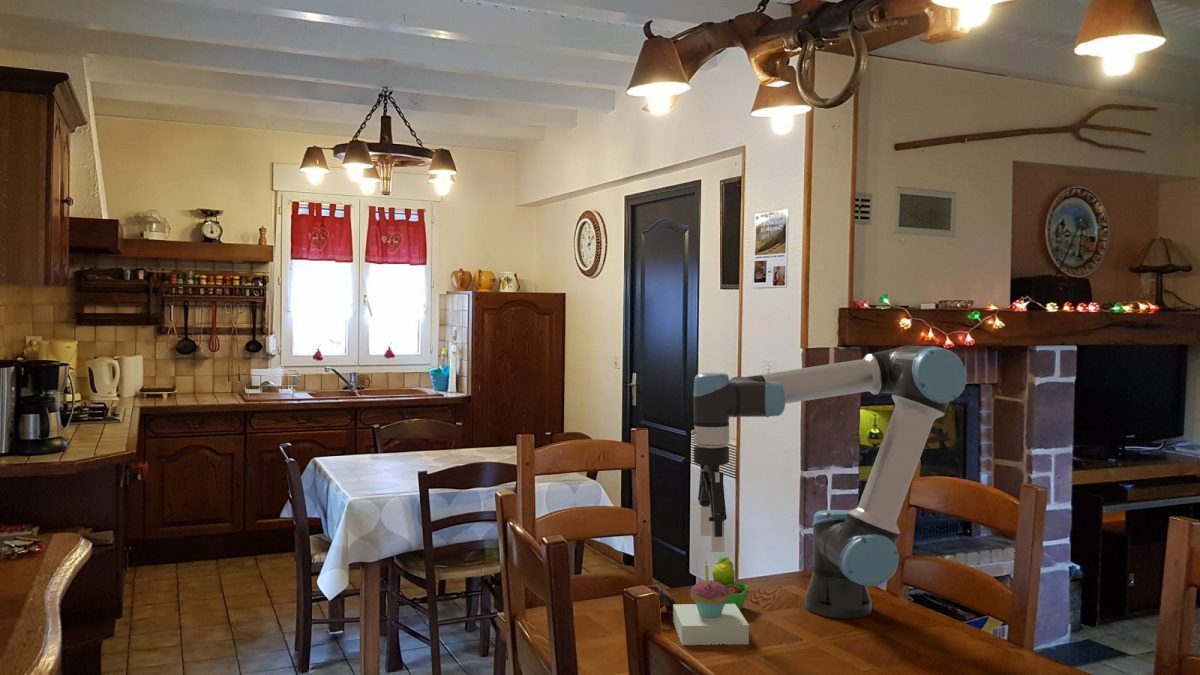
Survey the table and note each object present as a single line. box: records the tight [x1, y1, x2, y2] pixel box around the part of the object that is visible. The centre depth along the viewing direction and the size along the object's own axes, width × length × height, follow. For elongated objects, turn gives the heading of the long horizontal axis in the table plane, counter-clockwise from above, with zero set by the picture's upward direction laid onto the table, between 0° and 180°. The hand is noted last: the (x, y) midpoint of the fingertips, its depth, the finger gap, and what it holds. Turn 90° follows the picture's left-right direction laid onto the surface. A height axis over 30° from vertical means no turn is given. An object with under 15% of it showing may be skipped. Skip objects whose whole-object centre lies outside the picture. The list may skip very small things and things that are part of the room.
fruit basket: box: [704, 556, 749, 611], centre depth 213 cm, size 11×9×11 cm
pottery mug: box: [646, 583, 676, 614], centre depth 207 cm, size 12×10×8 cm
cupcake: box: [690, 561, 730, 618], centre depth 196 cm, size 9×8×12 cm
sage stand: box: [672, 603, 750, 646], centre depth 196 cm, size 14×14×4 cm
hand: (711, 543), depth 195 cm, fingers open, 13 cm apart
